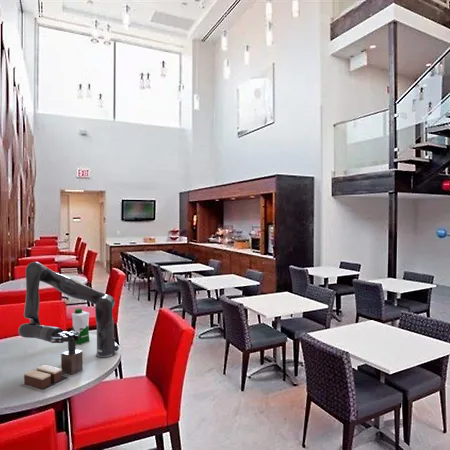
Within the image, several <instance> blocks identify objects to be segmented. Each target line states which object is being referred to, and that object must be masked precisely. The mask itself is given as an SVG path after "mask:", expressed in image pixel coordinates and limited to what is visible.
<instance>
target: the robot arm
mask: <svg viewBox="0 0 450 450" xmlns="http://www.w3.org/2000/svg"><path fill="white" fill-rule="evenodd" d="M40 282H42V283H44V284H47V285H49V286H51V287H53V288H54V289H55V290H57V291H58V292H60V293H61V294H63V295H66V296H68V297H70V298H73V299H76V300H80V301H86V302H89V303H91V304H93V305H95V306H94V311H95V313H94V315H95V322H96V356H97V358H109V357H112V356H115V355H116V354H115V353H116V352H118V351H119V349H120V347H119V345H118V344H117V342H116V340H115V319H114V317H113V309H114V307H115V305H116V301H115V299H114V297H113V296H111V295H110V294H107V293H104V292H102V291H98V290H97V289H94V288H92V287H90V286H88V285H86V284H84V283H82V282H80V281H78V280H76V279H74V278H72V277H69V276H66V275H65V274H61V273H58V272H56V271H53V269H51V268H49V267H48V266H46V265H44V264H42V263H40V262H38V261H32V262H30V263H28V264H27V266H26V267H25V284H26V285H25V289H26V290H25V302H24V308H23V309H24V310H23V316H24V318H25V319H28V320H29V322H26V323H22V324H21V325H19V327H18V331H17V332H18V335H19V336H20V337H22V338H26V339H28V338H29V339H37V340H40V341H41V340H42V341H44V342H49V343H50V344H64V343H68V342H71V343H73V342H74V338H72V337H68V335H69V334H75V340H79V336H77V335H76V332H74V331H73V329H71V330H70V331H69V332H68V331H64V330H63V328H61V327H57V326H51V325H43V324H41V320H40V315H39V314H40V313H39V312H40Z"/></svg>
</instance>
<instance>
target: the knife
mask: <svg viewBox="0 0 450 450" xmlns="http://www.w3.org/2000/svg"><path fill="white" fill-rule="evenodd" d="M68 337H72V338H74V342H73V343H71V342H67V347H68V348H67V351H68V352H70V353H75V349H76V343H75V334H69V335H68Z"/></svg>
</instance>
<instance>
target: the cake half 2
mask: <svg viewBox="0 0 450 450" xmlns="http://www.w3.org/2000/svg"><path fill="white" fill-rule="evenodd" d="M36 371H40V372H44V373H48V374H51V382H53V383H55V382H57V381H59V380H61V379H62V376H63V373H62V369H61V368H60V367H56V366H52V365H48V364H42V365H40V366H38V367H36Z"/></svg>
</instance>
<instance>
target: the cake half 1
mask: <svg viewBox="0 0 450 450" xmlns="http://www.w3.org/2000/svg"><path fill="white" fill-rule="evenodd" d="M23 380H24V381H23V383H24V384H27V385H30V386H29V387H31V386H34V387H37V388H41V389H43V388H45V387H47V386H49V385H51V374H48V373H44V372H40V371H37V369H31V370H29V371H26V372H24V373H23ZM24 384H23V385H24ZM27 385H26V386H27ZM34 387H33V388H34ZM37 388H36V389H37ZM41 389H40V390H41Z"/></svg>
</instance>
